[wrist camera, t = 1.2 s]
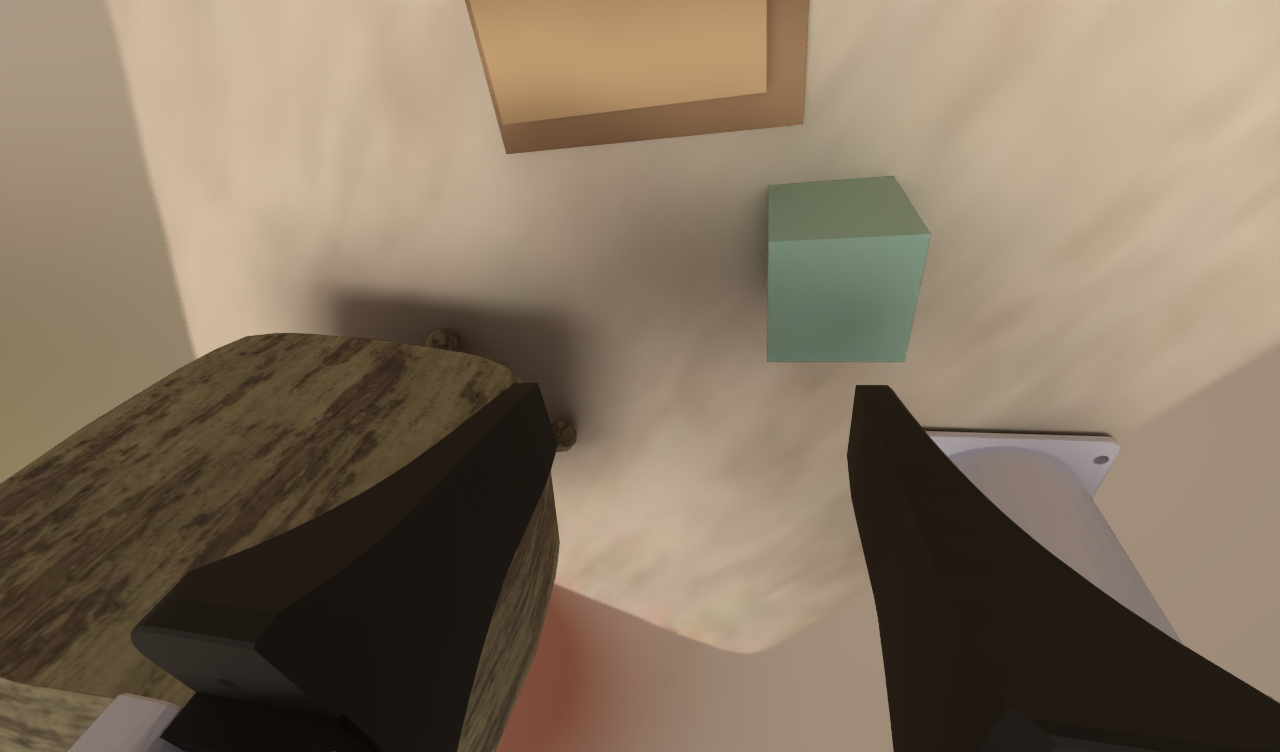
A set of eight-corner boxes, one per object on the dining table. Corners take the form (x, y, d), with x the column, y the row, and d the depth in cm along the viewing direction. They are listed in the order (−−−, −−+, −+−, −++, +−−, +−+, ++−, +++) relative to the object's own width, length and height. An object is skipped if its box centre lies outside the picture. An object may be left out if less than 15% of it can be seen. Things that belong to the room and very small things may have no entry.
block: (876, 285, 19) (904, 362, 15) (767, 288, 20) (766, 361, 16) (893, 175, 17) (930, 233, 13) (768, 184, 18) (768, 241, 14)
